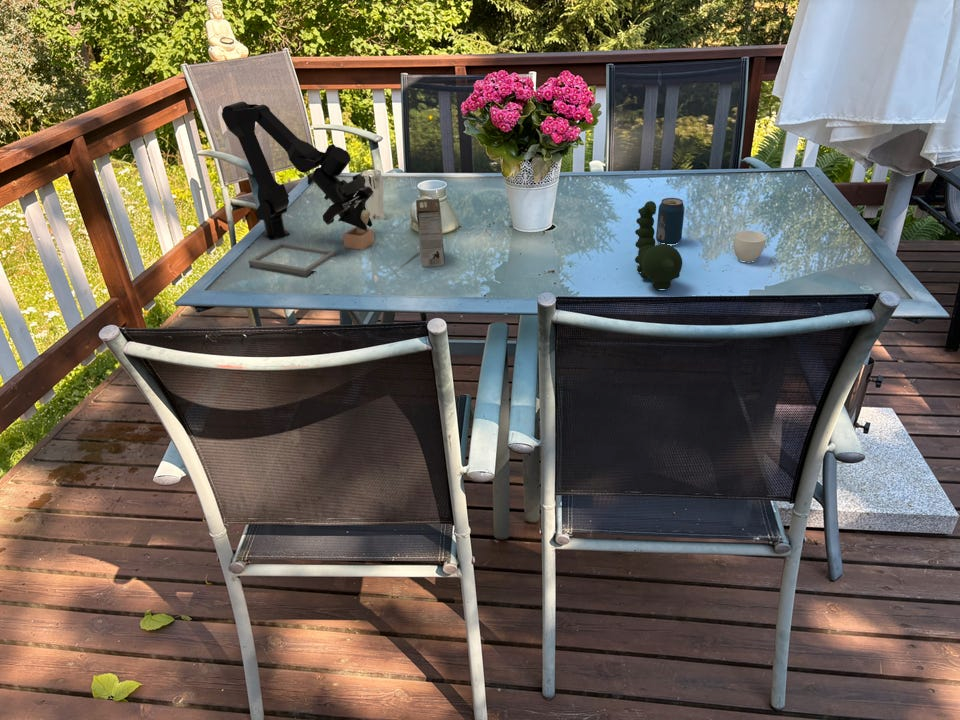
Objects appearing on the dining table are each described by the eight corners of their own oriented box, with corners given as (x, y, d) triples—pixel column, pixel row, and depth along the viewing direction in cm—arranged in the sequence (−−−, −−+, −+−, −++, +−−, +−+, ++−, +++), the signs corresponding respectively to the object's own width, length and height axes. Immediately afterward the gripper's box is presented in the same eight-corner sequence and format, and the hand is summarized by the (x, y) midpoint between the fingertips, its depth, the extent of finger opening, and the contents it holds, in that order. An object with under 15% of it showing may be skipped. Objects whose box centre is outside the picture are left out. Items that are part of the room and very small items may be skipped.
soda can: (683, 239, 200) (687, 198, 193) (678, 248, 194) (682, 206, 188) (658, 236, 202) (662, 195, 196) (653, 245, 197) (656, 204, 191)
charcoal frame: (249, 267, 197) (248, 260, 196) (282, 248, 208) (280, 242, 207) (306, 277, 189) (305, 270, 188) (337, 257, 200) (336, 251, 199)
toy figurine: (624, 267, 189) (650, 301, 167) (627, 197, 181) (655, 223, 158) (658, 265, 190) (689, 298, 167) (663, 195, 181) (696, 220, 159)
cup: (734, 266, 183) (738, 241, 179) (726, 251, 191) (729, 227, 188) (765, 265, 182) (769, 241, 179) (755, 250, 191) (759, 227, 187)
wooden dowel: (351, 245, 205) (348, 209, 199) (356, 242, 207) (352, 206, 200) (370, 249, 203) (367, 213, 196) (374, 246, 204) (371, 210, 198)
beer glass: (383, 223, 222) (377, 176, 214) (362, 222, 223) (355, 175, 216) (390, 215, 228) (384, 169, 220) (369, 214, 229) (363, 169, 221)
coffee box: (421, 254, 199) (415, 199, 191) (443, 252, 199) (439, 197, 191) (421, 267, 191) (415, 210, 183) (445, 265, 192) (440, 209, 183)
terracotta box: (345, 250, 204) (342, 234, 202) (357, 242, 209) (355, 226, 206) (363, 253, 202) (360, 236, 199) (374, 245, 207) (372, 229, 204)
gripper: (324, 177, 186) (364, 222, 188) (363, 158, 201) (400, 199, 202) (305, 203, 194) (344, 245, 195) (345, 182, 208) (381, 222, 209)
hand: (368, 227), depth 200 cm, fingers closed on wooden dowel, 2 cm apart
